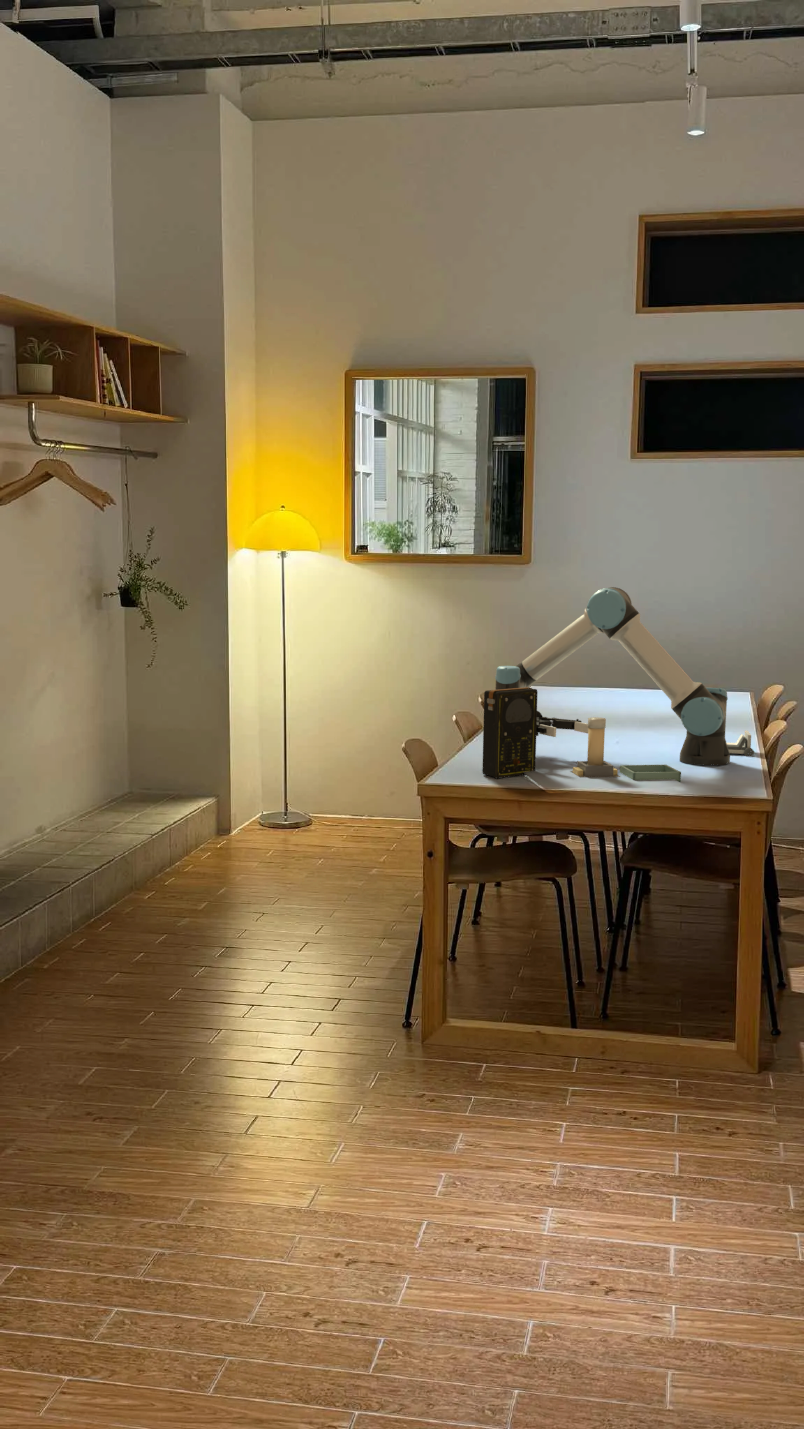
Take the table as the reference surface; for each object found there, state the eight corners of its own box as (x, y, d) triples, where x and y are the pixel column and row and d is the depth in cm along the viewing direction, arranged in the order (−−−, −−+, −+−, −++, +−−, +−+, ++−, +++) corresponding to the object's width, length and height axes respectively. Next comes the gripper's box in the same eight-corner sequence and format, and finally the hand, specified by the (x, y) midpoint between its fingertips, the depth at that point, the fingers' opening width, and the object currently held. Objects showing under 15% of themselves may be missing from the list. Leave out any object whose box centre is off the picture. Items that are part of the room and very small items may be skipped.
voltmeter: (497, 779, 374) (499, 692, 370) (478, 775, 380) (479, 688, 377) (538, 774, 383) (541, 688, 379) (519, 769, 390) (521, 685, 386)
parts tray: (665, 774, 385) (666, 764, 385) (680, 782, 373) (681, 772, 373) (619, 775, 383) (619, 765, 382) (633, 783, 371) (633, 772, 371)
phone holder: (697, 725, 420) (694, 720, 432) (695, 755, 422) (693, 749, 433) (755, 726, 418) (751, 721, 429) (753, 757, 419) (749, 751, 430)
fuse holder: (609, 773, 385) (610, 760, 385) (620, 780, 376) (621, 766, 375) (569, 774, 384) (570, 760, 383) (579, 780, 374) (580, 766, 373)
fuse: (600, 772, 382) (602, 717, 380) (606, 775, 377) (608, 719, 375) (584, 772, 381) (585, 717, 379) (589, 775, 377) (591, 720, 374)
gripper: (557, 730, 411) (603, 740, 393) (493, 735, 397) (539, 746, 380) (558, 706, 410) (605, 715, 392) (494, 711, 396) (540, 720, 378)
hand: (572, 730), depth 386 cm, fingers open, 13 cm apart
